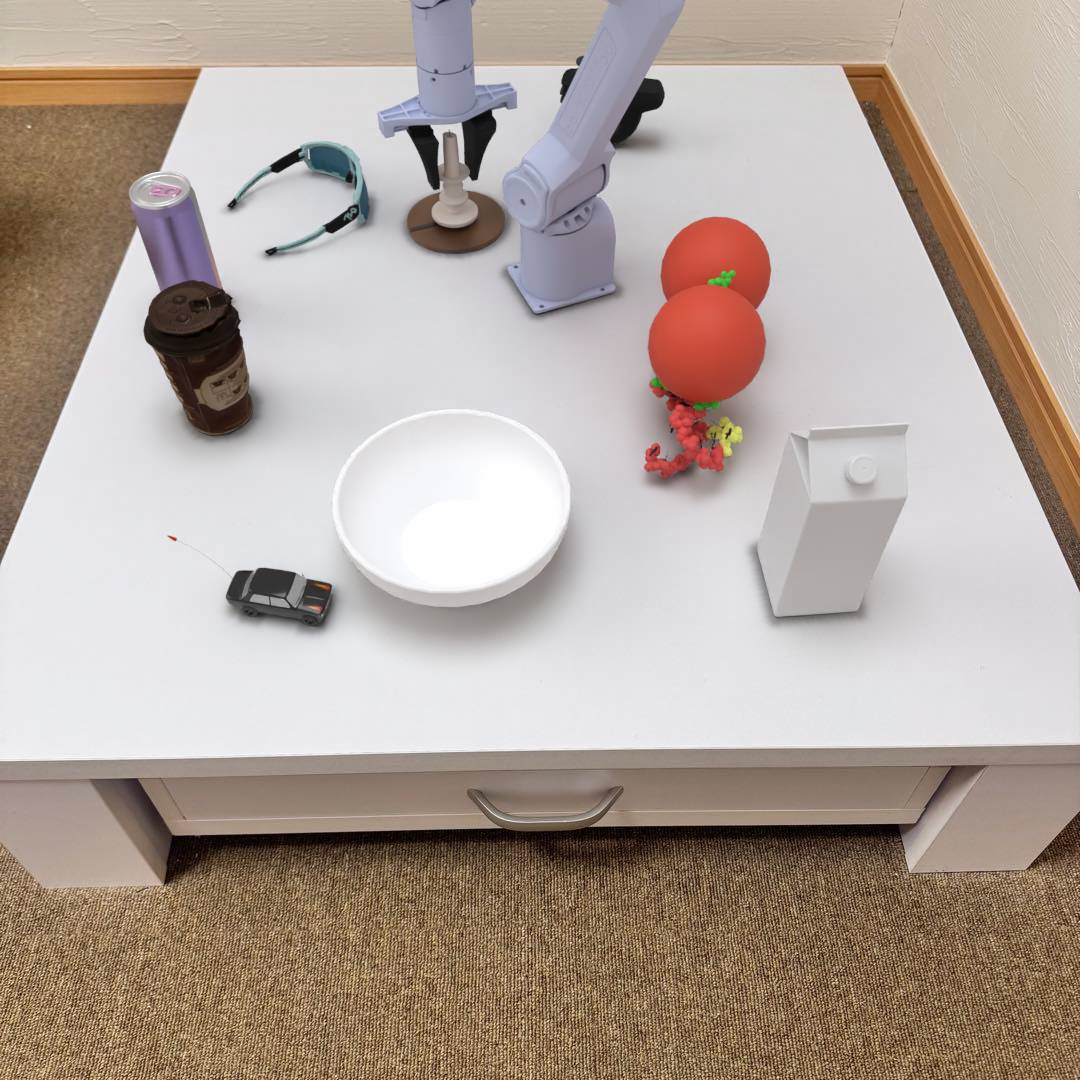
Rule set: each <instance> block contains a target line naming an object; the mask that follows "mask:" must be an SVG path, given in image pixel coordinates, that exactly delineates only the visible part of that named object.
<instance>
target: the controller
mask: <svg viewBox="0 0 1080 1080" xmlns="http://www.w3.org/2000/svg"><path fill="white" fill-rule="evenodd" d="M583 58H584V55H581V56H578V57H577V58H576V60H575V64H576V66H577V68H573V67H572V68H569V69H568V68H567V69H566V70H565V71H564V72H563V74H562V76H561V80H560V81H561V82H560V84H561V87H560V91H559V95H560V96H561V97H560V100H559V102H560V104H562V102H563V99H564V97H565V95H566V93H567V91H568V89H569V87H570V85H571V83H572V81H573V78H574V76H575V74H576V72H577V70H578V68H579V66H580V64H581V62H582V60H583ZM665 95H666V92H665V89H664V86H663V82H662V81H661V80H660V79H657V78H648V77H645V78H644V80H643V81H642V83H641V85H640V87H639V89H638V90H637V92H636V94H635V96H634V97H633V99H632V101H631V103H630V105H629V106H628V108H627V110H626V112H625V113H624V115H623V117H622V119H621V121H620V122H619V124H618V126H617V128H616V130H615V131H614V133H613V135H612V137H611V138H610V142H611V143H612V145H618V144H620V143H623V142H624V141H626V140H627V139H629V138H630V137H631V136H632V135H633V134H634V133H635V132H636V130H637V129H638V127H639V124H640V123H641V121H642V116H643V114H644V113H648V112H651V111H656V110H658V109H659V108H661V107H662V106H663V103H664V100H665Z"/></svg>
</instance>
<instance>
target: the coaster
mask: <svg viewBox="0 0 1080 1080" xmlns="http://www.w3.org/2000/svg"><path fill="white" fill-rule="evenodd" d="M466 191H467V193H468V199H470V200H471V201H473V202H474V203H475V204H476V205H477V207H478V216H477V218H476V220H475V221H474V222H473V223H471V224H469V225H467V226H464V227H460V228H448V227H444V226H441V225H439V224H438V223H436V222H435V221H434V220H433V217H432V208H433V206H434V205H435V204H436V203H437V202H438V201H440V199H439V195H440V193H441V192H442V191H439V192H435V193H432V194H429V195H428V196H424V197H423V198H422V199H420V200H419V201H418V202H416V203H415V204H414V205H412V207H411V208H410V210H409V212H408V214H407V217H406V226H407V231H408V233H409V235H410V237H411V238H412V240H413V241H414V242H416V243H417V244H418V245H419V246H421V247H423V248H425V249H427V250H430V251H433V252H436V253H442V254H448V255H449V254H450V255H451V254H452V255H453V254H454V255H455V254H456V255H458V254H467V253H472V252H473V253H474V252H476V251H479V250H482V249H484V248H486V247H488V246H490V245H491V244H493V243H494V242H495V241H496V240H497V239H499V238H500V236H501V235H502V233H503V232H504V229H505V225H506V218H505V217H506V216H505V212H504V210H503V209H502V207H501V205H500V204H499V203H498V202H497V201H496V200H494V199H493V198H491V197H490V196H487V195H485V194H483V193H480V192H477V191H472V190H466Z"/></svg>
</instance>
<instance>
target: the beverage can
mask: <svg viewBox="0 0 1080 1080" xmlns="http://www.w3.org/2000/svg"><path fill="white" fill-rule="evenodd" d="M128 197H129V199H130V201H129V204H130V209H131V212H132V214H133V217H134V220H135V223H136V226H137V229H138V232H139V234H140V237H141V239H142V242H143V245H144V248H145V251H146V254H147V257H148V260H149V263H150V266H151V268H152V269H151V270H152V271H153V274H154V276H155V280H156V283H157V286H158V289H159V292H161V291H163V290H164V289H166V288H168V287H170V286H172V285H175V284H178V283H181V282H184V281H188V280H197V281H204V282H206V283H208V284H210V285H213V286H215V287H217V288H220V289H223V290H224V288H223V284H222V281H221V277H220V274H219V270H218V268H217V267H218V266H217V264H216V259H215V257H214V253H213V250H212V246H211V243H210V239H209V236H208V233H207V229H206V225H205V223H204V218H203V216H202V212H201V208H200V206H199V202H198V198H197V195H196V191H195V189H194V188H193V187H192V185H191V182H190V180H189V178H187V176H186V175H183V174H182V173H178V172H176V171H168V170H167V171H166V170H165V171H163V170H162V171H155V172H151V173H148V174H145V175H142V176H141V177H139V178H137V180H135V181H134V182H133V183H132V184H131V185H130V187H129V190H128Z"/></svg>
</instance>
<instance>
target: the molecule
mask: <svg viewBox="0 0 1080 1080" xmlns="http://www.w3.org/2000/svg"><path fill="white" fill-rule="evenodd" d="M770 259H771V258H770V254H769V251H768V249H767V247H766V244H765V242H764V240H763V239H762V238H761V237H760V235H759V234H758V233H757V231H755V230H753V228H751V227H750V225H747V224H746V223H745V222H742V221H740V220H738V219H736V218H731V217H727V216H709V217H703V218H701V219H698V220H695V221H693V222H691V223H690V224H688V225H687V226H685V227H684V228H682V229H681V230H680V231H678V233H676V235H674V237H673V239H672V240H671V241H670V243H669V244H668V246H667V248H666V249H665V252H664V255H663V257H662V260H661V269H660V270H661V271H660V276H659V277H660V283H661V288H662V293H663V295H664V297H665V299H666V302H665V303H664V304H662V306H661V307H660V308H659V310H658V312H657V313H656V315H655V316H654V318H653V320H652V322H651V326H650V328H649V332H648V341H647V353H648V358H649V359H648V360H649V362H650V366H651V369H652V371H653V372H654V374H655V377H653V378H652V379H650V381H649V384H648V385H649V388H650V389H651V392H652V394H653V395H654V396H655V397H656V398H657V399H660V398H663V397H664V396H665V397H668V399H667V400H666V402H665V406H666V410H667V411H669V412H671V413H670V415H669V417H668V423H669V425H668V427H669V428H670V430H669V434H670V435H672V434H673V433H674V431H675V433H676V437H675V438H676V440H677V442H678V443H679V445H681V446H682V448H683V449H684V452H683V453H682V454H681V453H678V454H676V455H674V459H673V460H671V461H669V460H667V458H668V452H669V451H667V452H666V455H665V458H663V457H659V458H658V456H660V454H661V445H660V444H659V443H658V442H654V443H652V444H651V445H650V447H648V448H646V449H645V451H644V454H645V456H644V460H645V462H646V463H645V464H644V465H643V467H644V470H645V471H646V472H648V473H651V472H657V471H660V473H659V474H660V477H661V478H663V479H667V478H669V477H670V475H674V474H676V472H684V471H685V470H687V467H688V466H690V465H691V464H692V462H695V463H698V467H699V468H700V469H702V470H707V469H708V470H710V471H713V470H714V471H716V472H717V473H720V472H723V471H724V469H725V465H724V458H729V457H731V456H732V455H733V449H732V448H731V444H736V443H738V444H739V443H742V442H743V440H744V436H743V429H742V427H740V426H739V425H738V426H735V424H734V423H733V422H732V421H731V420H730V419H729V417H727V416H726V415H723V416H721V417H720V418H719V423H718V424H717V423H716V422H715V421H714V420H713V419H710V418H709V420H710V421H711V422H713V423H714V424H715V425H716V426H715V425H714V424H711V425H708V423H707V422H706V421H701V420H703V419H704V418H705V417H706V416H707V413H708V412H707V410H706V409H712V410H717V409H719V408H720V403H722V402H723V401H726V400H728V399H731V398H732V397H734V396H735V395H737V394H739V393H740V392H742V391H743V390H745V389H746V388H747V387H748V386H749V385H750V384H751V383H752V382H753V380H754V379H755V378H756V376H757V374H758V373H759V372H760V369H761V367H762V364H763V362H764V359H765V353H766V352H765V351H766V344H767V339H766V333H765V325H764V322H763V321H762V318H761V315H760V314H759V312H758V308H759V307H760V305H761V304H762V302H763V301H764V299H765V298H766V296H767V293H768V291H769V288H770V282H771V276H772V275H771V274H772V267H771V266H772V265H771V260H770ZM695 420H696V421H695ZM711 439H712V442H713V443H712V445H711V450H710V449H709V448H708V447H706V446H705V447H703V443H704V442H708V441H710V440H711ZM716 440H719V441H718V444H717V445H715V444H716ZM699 448H700V450H699Z"/></svg>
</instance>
